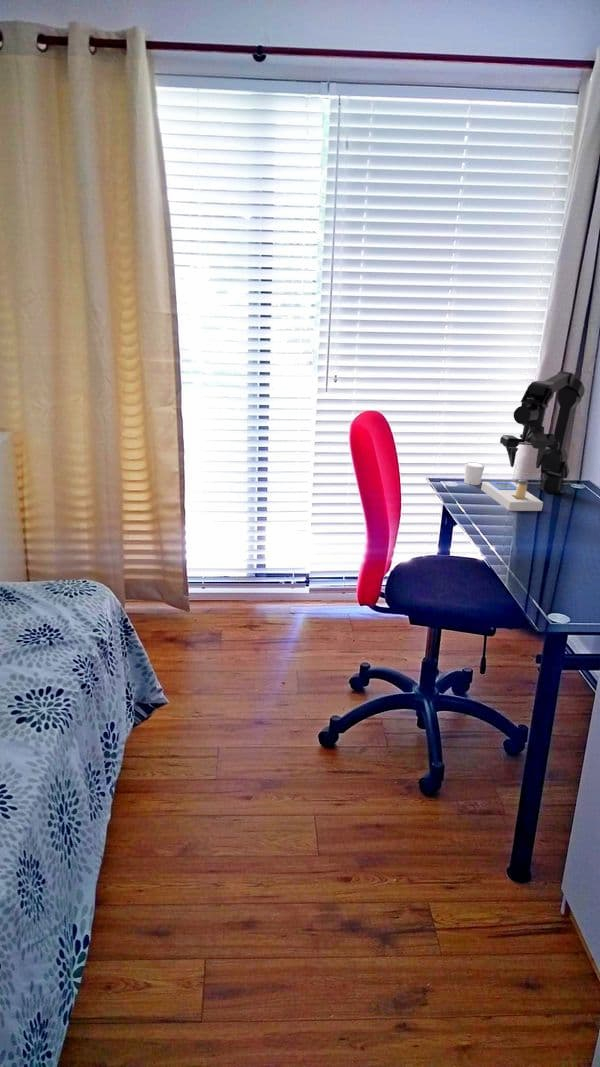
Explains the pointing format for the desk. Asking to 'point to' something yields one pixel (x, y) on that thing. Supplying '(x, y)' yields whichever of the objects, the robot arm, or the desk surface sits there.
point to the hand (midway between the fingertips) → (524, 467)
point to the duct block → (511, 496)
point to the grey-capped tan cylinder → (521, 489)
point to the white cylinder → (473, 473)
